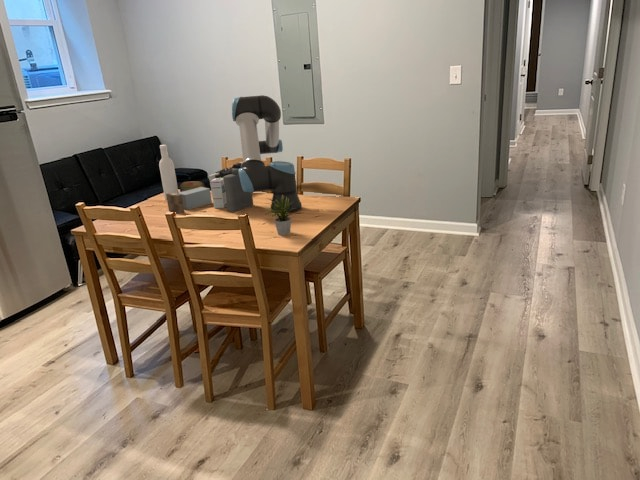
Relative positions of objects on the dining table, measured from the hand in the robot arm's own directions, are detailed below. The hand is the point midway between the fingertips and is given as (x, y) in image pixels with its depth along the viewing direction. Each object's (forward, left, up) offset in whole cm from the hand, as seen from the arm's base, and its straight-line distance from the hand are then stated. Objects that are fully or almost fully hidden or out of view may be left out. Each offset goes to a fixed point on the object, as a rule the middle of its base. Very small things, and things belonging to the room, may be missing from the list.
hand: (209, 178), depth 272 cm
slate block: (0, +12, -12) cm, 17 cm away
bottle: (+26, +8, -12) cm, 29 cm away
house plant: (-74, +27, -12) cm, 80 cm away
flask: (-28, +7, -12) cm, 32 cm away
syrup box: (-16, +9, -12) cm, 22 cm away
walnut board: (0, +25, -12) cm, 27 cm away
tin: (+18, -1, -12) cm, 21 cm away
